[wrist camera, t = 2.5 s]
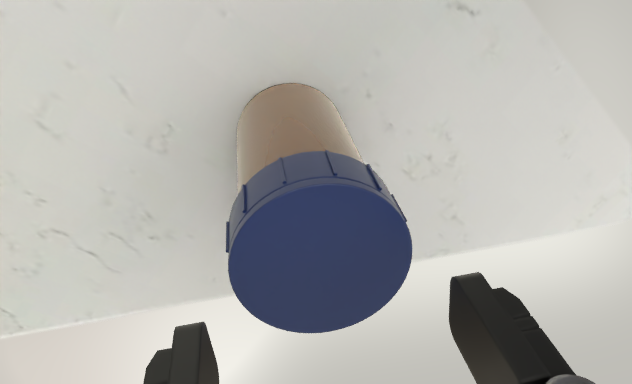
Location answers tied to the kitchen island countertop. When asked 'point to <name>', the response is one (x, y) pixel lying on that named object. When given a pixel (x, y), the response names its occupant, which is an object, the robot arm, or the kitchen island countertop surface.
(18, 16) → the kitchen island countertop surface
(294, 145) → the jar
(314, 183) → the lid
